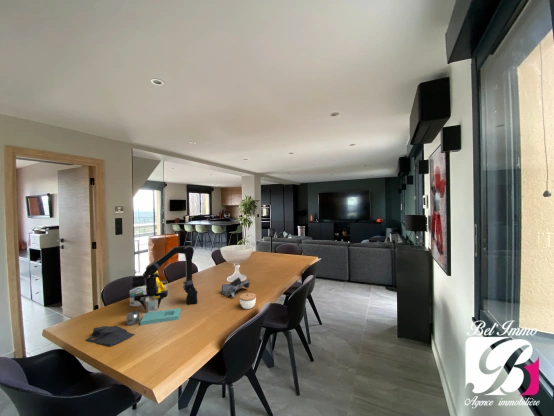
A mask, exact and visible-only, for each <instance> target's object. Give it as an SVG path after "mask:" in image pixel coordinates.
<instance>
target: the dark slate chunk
mask: <svg viewBox="0 0 554 416" xmlns="http://www.w3.org/2000/svg"><path fill="white" fill-rule="evenodd" d="M135 335H136V334H135V333H132V332H129V331H128V330H127V329H125V328H124V327H120V326H119V325H111V326H109V325H104V326H103V325H102V326H100V327H94V328H93V330H92V334H91V336H89V337H88V338H86V339H84V341H85V342H88V343H91V344H97V345H102V346H108V347H113V346H116V345H117V344H120V343H122V342H124V341H127V340H128V339H130V338H132V337H134V336H135Z"/></svg>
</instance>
